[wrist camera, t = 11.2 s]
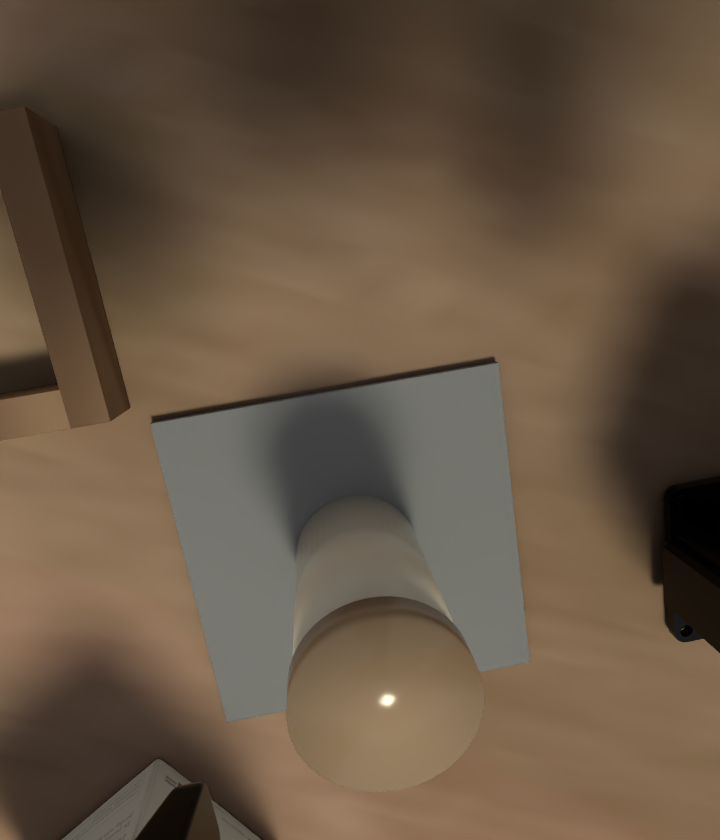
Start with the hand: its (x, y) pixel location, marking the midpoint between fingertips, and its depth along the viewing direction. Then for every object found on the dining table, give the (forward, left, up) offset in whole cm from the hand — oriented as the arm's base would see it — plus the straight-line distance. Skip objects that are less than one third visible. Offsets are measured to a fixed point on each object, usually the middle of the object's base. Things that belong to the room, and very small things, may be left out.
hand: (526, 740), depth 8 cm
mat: (+2, +3, -13) cm, 13 cm away
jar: (+2, +3, -13) cm, 13 cm away
